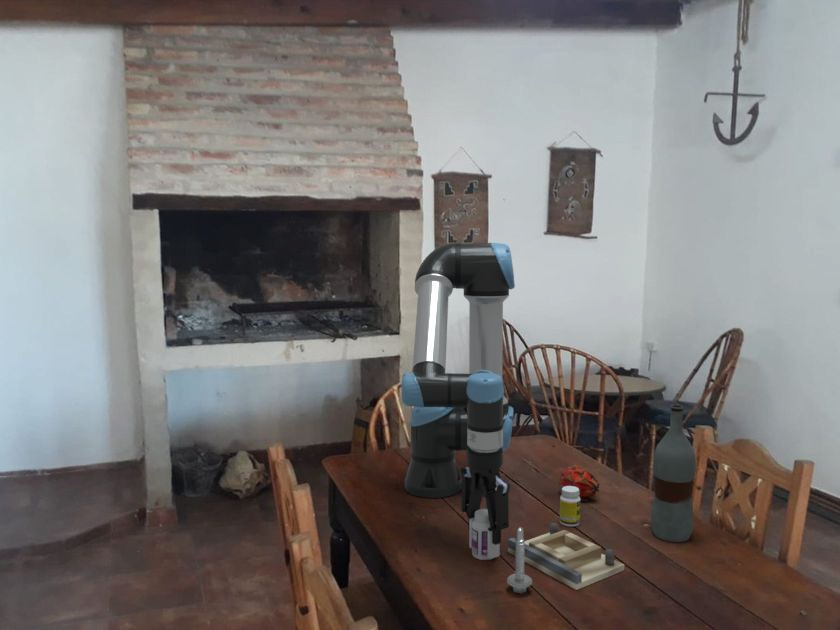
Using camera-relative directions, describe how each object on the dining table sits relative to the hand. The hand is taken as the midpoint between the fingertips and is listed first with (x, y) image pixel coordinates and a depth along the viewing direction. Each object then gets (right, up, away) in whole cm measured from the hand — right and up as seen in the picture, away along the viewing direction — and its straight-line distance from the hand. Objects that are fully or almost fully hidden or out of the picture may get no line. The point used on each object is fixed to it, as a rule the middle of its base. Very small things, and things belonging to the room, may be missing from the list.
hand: (484, 551), depth 162 cm
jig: (+17, -1, -3) cm, 17 cm away
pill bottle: (0, -1, 0) cm, 1 cm away
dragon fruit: (+27, +4, +32) cm, 42 cm away
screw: (+6, -3, -15) cm, 16 cm away
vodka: (+43, +1, +10) cm, 44 cm away
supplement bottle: (+22, +1, +16) cm, 27 cm away
